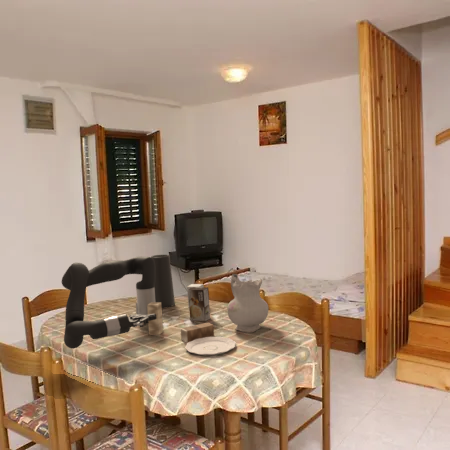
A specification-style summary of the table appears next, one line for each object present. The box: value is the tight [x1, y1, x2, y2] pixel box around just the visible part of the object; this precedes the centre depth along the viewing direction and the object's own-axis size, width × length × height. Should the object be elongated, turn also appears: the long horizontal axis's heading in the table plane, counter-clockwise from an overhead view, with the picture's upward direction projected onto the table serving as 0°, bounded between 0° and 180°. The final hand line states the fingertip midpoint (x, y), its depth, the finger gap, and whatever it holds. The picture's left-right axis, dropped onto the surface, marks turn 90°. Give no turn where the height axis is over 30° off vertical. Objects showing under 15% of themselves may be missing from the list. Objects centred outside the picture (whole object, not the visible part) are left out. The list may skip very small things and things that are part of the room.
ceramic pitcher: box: [226, 273, 269, 333], centre depth 214 cm, size 22×20×25 cm
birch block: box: [147, 302, 164, 336], centre depth 213 cm, size 5×5×14 cm
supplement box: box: [186, 283, 205, 307], centre depth 257 cm, size 7×7×13 cm
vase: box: [150, 254, 176, 309], centre depth 266 cm, size 14×14×29 cm
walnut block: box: [180, 322, 215, 344], centre depth 203 cm, size 5×5×14 cm
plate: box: [184, 336, 237, 356], centre depth 189 cm, size 21×21×2 cm
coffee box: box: [187, 286, 211, 322], centre depth 232 cm, size 9×6×16 cm
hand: (155, 316), depth 192 cm, fingers closed
